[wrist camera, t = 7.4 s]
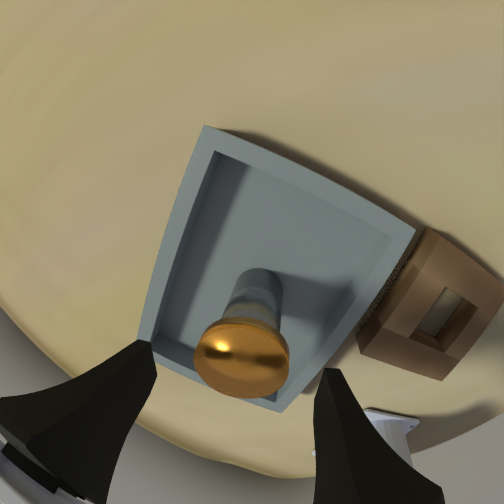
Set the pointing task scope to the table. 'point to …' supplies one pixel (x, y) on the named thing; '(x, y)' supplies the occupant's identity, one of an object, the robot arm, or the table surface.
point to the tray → (266, 255)
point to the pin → (246, 340)
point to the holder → (419, 303)
